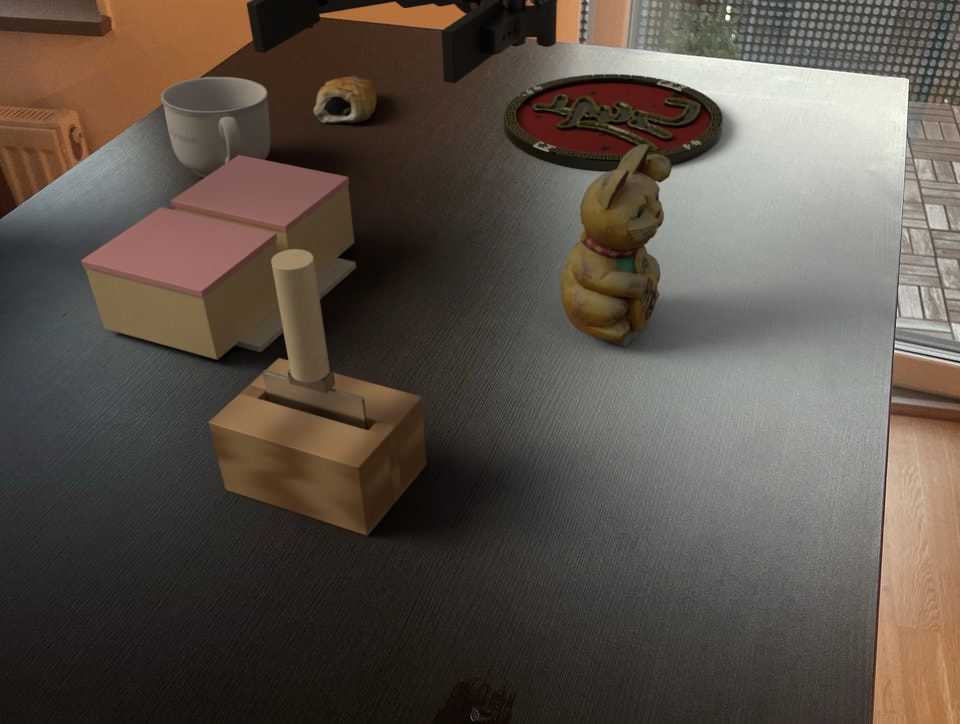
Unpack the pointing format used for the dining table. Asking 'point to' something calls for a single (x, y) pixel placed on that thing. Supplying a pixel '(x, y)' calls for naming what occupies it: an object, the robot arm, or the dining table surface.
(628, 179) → the decorative figurine
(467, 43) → the robot arm
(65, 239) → the dining table surface
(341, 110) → the pastry
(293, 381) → the knife
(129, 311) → the cake
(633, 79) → the decorative plate
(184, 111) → the teacup
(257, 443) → the knife block
